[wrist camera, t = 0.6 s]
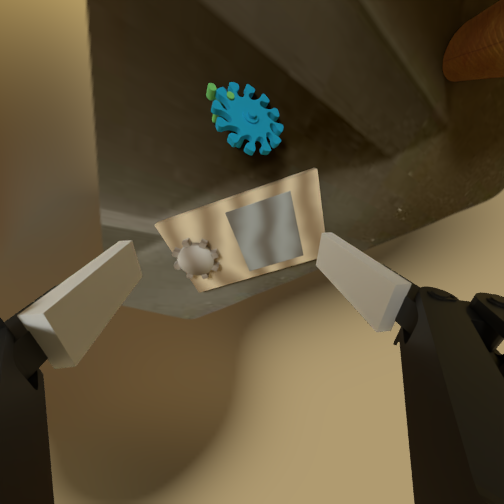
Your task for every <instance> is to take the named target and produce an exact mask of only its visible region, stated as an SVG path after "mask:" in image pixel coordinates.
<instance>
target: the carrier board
mask: <svg viewBox="0 0 504 504" xmlns="http://www.w3.org/2000/svg"><path fill="white" fill-rule="evenodd" d="M155 227H156V228H157V230H158V231H159V233H160V234H161V236H162V237H163V239H164V240H165V242H166V243H167V245H168V246H169V248H170V249H171V251H172V252H173V253H172V256H174V257H176V258H177V260H178V261H176V262H175V264H174V268H175V269H176V270H179V269H182V270H184V271H185V272H186V273H187V276H186V277H187V278H190V279H191V281H192V282H193V284H194V285H195V287H196V288H197V290H198V291H199V293H200V292H203V291H207V290H210V289H214V288H217V287H221V286H224V285H227V284H231V283H234V282H238V281H241V280H245V279H248V278H252V277H255V276H259V275H262V274H265V273H269V272H272V271H276V270H279V269H283V268H286V267H290V266H293V265H297V264H300V263H304V262H307V261H310V260H314V259H317V257H318V251H319V245H320V239H321V234H322V233H325V229H324V221H323V212H322V204H321V196H320V187H319V179H318V170H317V169H316V168H312V169H309V170H306V171H303V172H300V173H298V174H295V175H292V176H289V177H286V178H283V179H280V180H277V181H274V182H272V183H269V184H266V185H263V186H260V187H257V188H254V189H251V190H248V191H245V192H243V193H240V194H237V195H234V196H231V197H228V198H225V199H222V200H219V201H217V202H214V203H211V204H208V205H205V206H202V207H199V208H196V209H193V210H191V211H188V212H185V213H182V214H179V215H176V216H173V217H170V218H167V219H165V220H162V221H159V222H157V223H156V224H155Z"/></svg>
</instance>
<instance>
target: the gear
mask: <svg viewBox="0 0 504 504" xmlns="http://www.w3.org/2000/svg"><path fill="white" fill-rule="evenodd" d="M238 90H239V85H238V84H237V83H234V82H230V83H229V87H228V92H226V90H225V89H224V88H223V87H221V88H218V89H217V90H216V86H215V85H214V84H213V83H209V84H208V88H207V94H206V96H207V98H208V99H209V100H213V101H212V108H211V112H212V113H213V117H212V121H213V122H214V123H216V129H217V131H219V132H223V131H226V130H230V131H234V132H236V133H237V134H235V133H230V134H229V136H228V139H227V141H228V143H229V144H230V145H231V146H232V147H237V148H240V147H241V145H242V143H243V141H244V139H247V140H248V141H249V142H248V143H247V144H246V146H245V148H244V152H245V153H247V154H248V155H251V156H252V155H253V153H254V151H255V149H256V148H255V141H259V142H260V143H261V144H262V146H261V148H260V153H261V154H262V155H268V154H269V152H270V151H271V147H272V148H276V147H277V146H278V145H279V144H280V142H281V139H280V138H279V137H278V136H279V135H280V134H281V132H282V131H283V125H282V124H280V123H276V122H274V121H277V119H278V117H279V112H278V109H276V108H273V109H266V107H267V105H268V103H269V99H268V97H267V96H266V95H265V94H262V95H261V97H260V98H259V99H257V100H252V99H251V98H252V97H253V94H254V92H255V89H254V88H253V87H252V86H250V85H248V84H247V85H246V87H245V90H244V97H240V96H238V95H237V93H238ZM215 93H216V94H215ZM218 116H222V117H223V118H225V119H226V120H227V121H228V122H227V121H226V120H224V119H223V118H222V117H218ZM271 129H272V130H273V131H272V130H271ZM273 132H274V133H275V134H274V133H273ZM276 135H277V136H276ZM266 137H268V138H269V139H270V145H271V147H270V145H269V144H268V142H267V139H266Z"/></svg>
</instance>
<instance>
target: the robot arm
mask: <svg viewBox="0 0 504 504" xmlns="http://www.w3.org/2000/svg"><path fill="white" fill-rule="evenodd" d="M316 266H317V267H318V268H319V269H320V270H321V271H322V273H323V274H324V275H325V276H326V277H327V278H328V279H329V280H330V281H331V282H332V284H334V286H335V287H336V288H337V289H338V290H339V291H340V292H341V293H342V295H343V296H344V297H345V298H346V299H347V300H348V301H349V302H350V303H351V305H352V306H353V307H354V308H355V309H356V310H357V311H358V312H359V313H360V314H361V315H362V317H363V318H364V319H365V320H366V321H367V322H368V323H369V324H370V326H371V327H372V328H373V329H374V330H375V331H376V332H383V331H391V329H392V327H393V325H394V322H395V321H396V322H397V323H398V324H399V325H400V326H401V328H400V330H399V333H398V335H397V337H396V339H395V341H394V345H397V343H398V342H400V351H401V362H402V372H403V383H404V394H405V405H406V415H407V426H408V438H409V449H410V459H411V470H412V480H413V492H414V502H415V504H504V354H503V355H502V354H500V353H499V352H498V351H497V350H496V348H497V347H498V346H499V344H500V343H501V342H502V341H503V340H504V297H502V296H501V297H500V296H499V295H495V294H489V293H477V294H476V295H475V296H474V298H473V299H472V301H471V302H468V301H460V300H458V299H457V298H456V297H455V296H454V295H452V294H450V293H448V292H446V291H443V290H440V289H437V288H433V287H421V288H420V287H418V286H417V285H415V284H413V283H412V282H410V281H409V280H407V279H406V278H404V277H403V276H401V275H398V273H396V272H395V271H392V270H391V269H390V268H388V267H387V266H385V265H383V264H381V263H379V262H377V261H376V260H374V259H372V258H371V257H369V256H368V255H366V254H365V253H363V252H361V251H360V250H358V249H357V248H355V247H354V246H352V245H350V244H349V243H347V242H346V241H344V240H343V239H341V238H339V237H338V236H336V235H335V234H333V233H332V232H328V233H322V234H321V239H320V245H319V251H318V257H317V262H316ZM141 278H142V273H141V269H140V266H139V262H138V259H137V255H136V252H135V248H134V245H133V241H132V240H130V241H119V242H117V243H116V244H115V245H113V246H112V247H110V248H109V249H108V250H106V251H105V252H104V253H102V254H101V255H100V256H98V257H97V258H95V259H94V260H93V261H91V262H90V263H89V264H87V265H86V266H84V267H83V268H82V269H80V270H79V271H78V272H76V273H75V274H73V275H72V276H71V277H69V278H68V279H66V280H65V281H64V282H63V283H61V284H59V285H57V286H55V287H53V288H51V289H50V290H49V291H47V292H46V293H45V294H43V296H40V297H39V298H37V299H36V300H35V302H32V303H31V304H29V305H28V306H26V307H25V308H23V309H22V310H21V311H19V312H18V313H16V314H15V315H14V316H12V317H11V318H10V319H8V320H7V321H5V322H3V320H2V319H1V318H0V504H54V496H53V484H52V474H51V473H52V472H51V461H50V449H49V437H48V425H47V414H46V402H45V390H44V378H43V373H42V372H41V370H40V369H39V367H40V366H41V365H42V364H43V363H44V362H45V361H46V360H47V359H48V360H49V362H50V363H51V365H52V366H53V367H54V369H57V368H66V367H75V366H77V364H78V363H79V362H80V360H81V359H82V358H83V356H84V355H85V354H86V352H87V351H88V349H89V348H90V347H91V345H92V344H93V342H94V341H95V340H96V339H97V337H98V336H99V335H100V333H101V332H102V330H103V329H104V328H105V326H106V325H107V324H108V322H109V321H110V320H111V318H112V317H113V315H114V314H115V313H116V311H117V310H118V309H119V307H120V306H121V305H122V303H123V302H124V301H125V299H126V298H127V297H128V295H129V294H130V292H131V291H132V290H133V288H134V287H135V286H136V284H137V283H138V282H139V280H140V279H141Z"/></svg>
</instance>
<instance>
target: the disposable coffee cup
mask: <svg viewBox="0 0 504 504" xmlns="http://www.w3.org/2000/svg"><path fill="white" fill-rule="evenodd" d="M442 67H443V73H444V76H445V77H446V79H448V80H449V81H453V82H458V81H467V80H477V79H488V78H498V77H504V0H499V1H498V2H497V3H495V4H493V5H492V6H490V7H488V8H487V9H486V10H484V11H482V12H481V13H479V14H478V15H476V16H475V17H473V18H472V19H470V20H468V21H467V22H466V23H464V24H463V25H462V26H461V27H460V28H459V29H458V31H457V32H456V33H455V34H454V36H453V37H452V39H451V40H450V42H449V44H448V46H447V49H446V51H445V54H444V58H443V66H442Z"/></svg>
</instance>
